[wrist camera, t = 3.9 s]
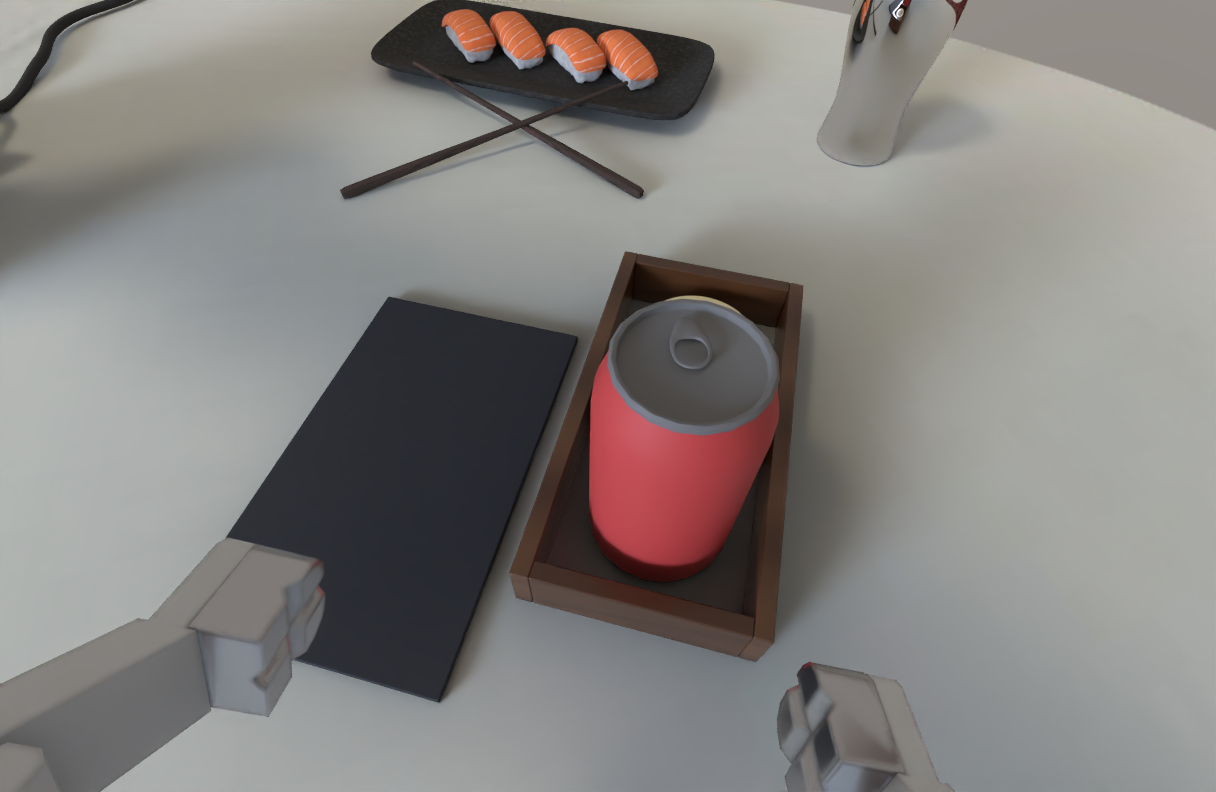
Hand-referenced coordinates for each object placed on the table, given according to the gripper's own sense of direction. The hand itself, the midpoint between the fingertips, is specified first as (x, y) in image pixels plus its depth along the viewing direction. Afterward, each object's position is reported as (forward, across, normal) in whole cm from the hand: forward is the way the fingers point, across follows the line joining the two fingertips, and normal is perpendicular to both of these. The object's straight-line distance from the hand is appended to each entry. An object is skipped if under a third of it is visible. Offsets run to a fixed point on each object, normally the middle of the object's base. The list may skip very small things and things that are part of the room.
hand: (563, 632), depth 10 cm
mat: (+17, +8, +12) cm, 23 cm away
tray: (+20, -5, +8) cm, 22 cm away
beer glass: (+48, -17, -5) cm, 51 cm away
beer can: (+16, -4, +11) cm, 19 cm away
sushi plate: (+48, +11, -1) cm, 50 cm away
